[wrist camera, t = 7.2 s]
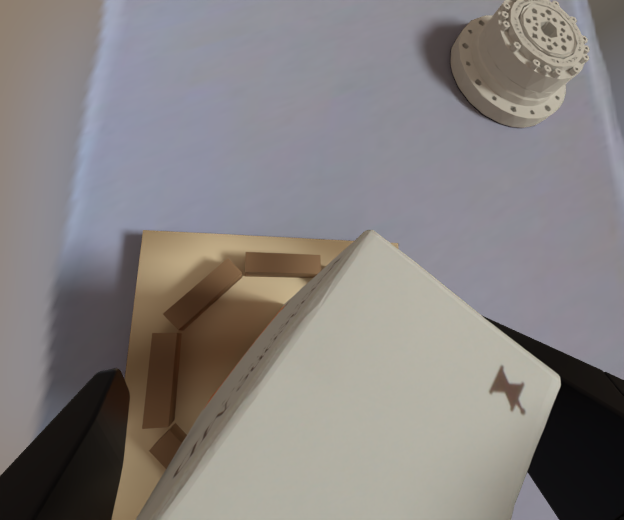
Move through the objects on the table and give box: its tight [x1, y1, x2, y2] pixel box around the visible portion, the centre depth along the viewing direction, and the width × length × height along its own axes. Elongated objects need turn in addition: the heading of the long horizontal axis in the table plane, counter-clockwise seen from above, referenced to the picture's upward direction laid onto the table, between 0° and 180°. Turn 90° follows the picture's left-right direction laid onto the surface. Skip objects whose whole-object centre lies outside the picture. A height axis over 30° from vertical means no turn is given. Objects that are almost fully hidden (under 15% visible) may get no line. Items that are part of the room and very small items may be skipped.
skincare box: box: [136, 230, 561, 520], centre depth 10 cm, size 6×4×12 cm
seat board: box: [112, 230, 398, 520], centre depth 15 cm, size 14×14×2 cm
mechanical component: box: [451, 0, 590, 128], centre depth 24 cm, size 10×4×10 cm
